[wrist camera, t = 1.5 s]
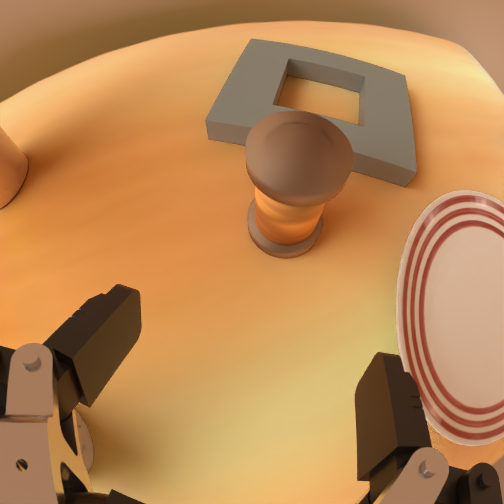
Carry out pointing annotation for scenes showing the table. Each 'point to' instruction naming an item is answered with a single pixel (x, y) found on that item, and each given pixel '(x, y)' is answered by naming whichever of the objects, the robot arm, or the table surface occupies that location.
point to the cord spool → (293, 179)
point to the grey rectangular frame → (333, 73)
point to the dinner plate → (455, 315)
